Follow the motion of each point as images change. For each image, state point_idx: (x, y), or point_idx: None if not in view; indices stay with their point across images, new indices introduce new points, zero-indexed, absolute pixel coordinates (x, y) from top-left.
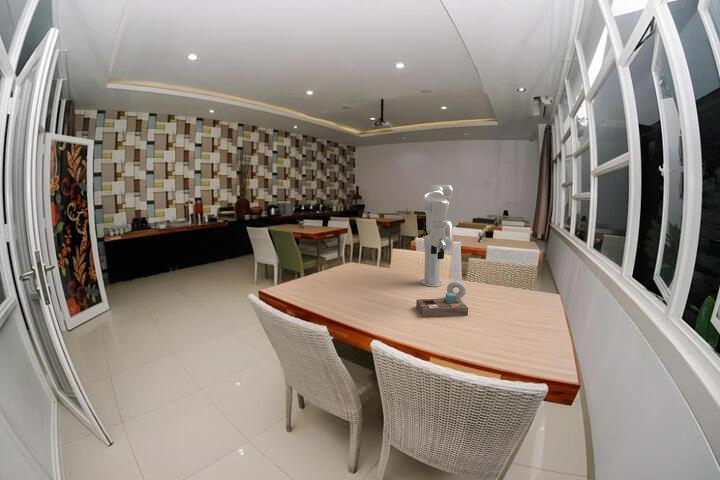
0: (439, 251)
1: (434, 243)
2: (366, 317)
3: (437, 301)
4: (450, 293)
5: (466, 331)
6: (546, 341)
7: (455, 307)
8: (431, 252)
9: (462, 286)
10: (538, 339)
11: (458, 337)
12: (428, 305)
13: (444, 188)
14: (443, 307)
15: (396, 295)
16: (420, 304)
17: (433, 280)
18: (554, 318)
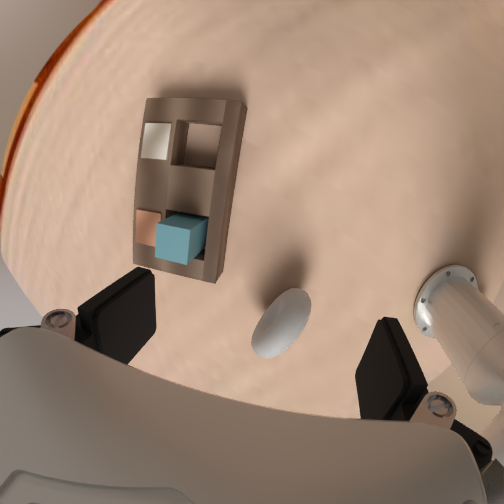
0: (54, 311)
1: (31, 390)
2: None
3: (198, 182)
4: (181, 247)
5: (76, 193)
6: None
7: (137, 221)
8: (383, 329)
9: (253, 345)
10: None
11: (61, 160)
12: (165, 125)
13: None
14: (143, 177)
15: (386, 89)
16: (187, 100)
17: (435, 306)
18: None
